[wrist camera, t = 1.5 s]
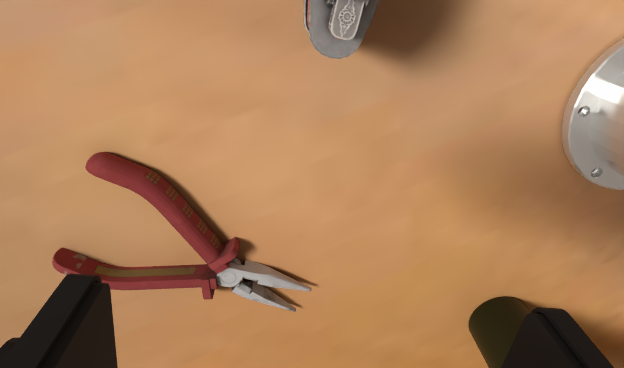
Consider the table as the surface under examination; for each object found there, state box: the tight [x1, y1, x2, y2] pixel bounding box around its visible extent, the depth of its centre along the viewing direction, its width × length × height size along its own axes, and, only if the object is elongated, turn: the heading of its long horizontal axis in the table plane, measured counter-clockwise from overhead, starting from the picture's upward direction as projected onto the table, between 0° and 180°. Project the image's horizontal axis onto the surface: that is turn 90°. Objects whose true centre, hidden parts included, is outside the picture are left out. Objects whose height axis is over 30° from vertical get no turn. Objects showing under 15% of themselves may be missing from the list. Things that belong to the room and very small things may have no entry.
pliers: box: [52, 152, 311, 312], centre depth 34 cm, size 12×20×3 cm, turn 61°
